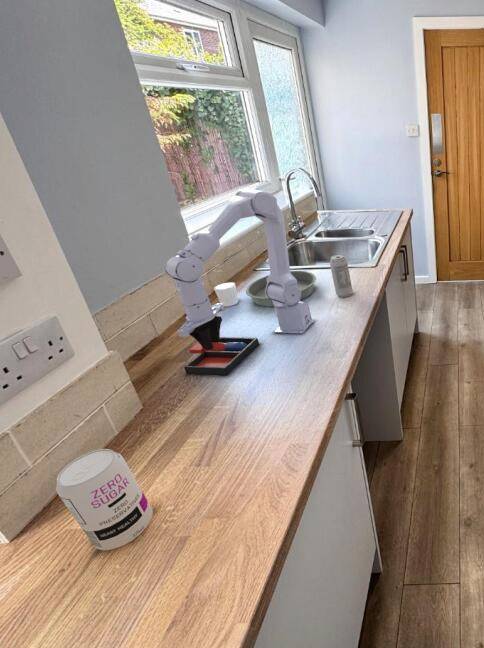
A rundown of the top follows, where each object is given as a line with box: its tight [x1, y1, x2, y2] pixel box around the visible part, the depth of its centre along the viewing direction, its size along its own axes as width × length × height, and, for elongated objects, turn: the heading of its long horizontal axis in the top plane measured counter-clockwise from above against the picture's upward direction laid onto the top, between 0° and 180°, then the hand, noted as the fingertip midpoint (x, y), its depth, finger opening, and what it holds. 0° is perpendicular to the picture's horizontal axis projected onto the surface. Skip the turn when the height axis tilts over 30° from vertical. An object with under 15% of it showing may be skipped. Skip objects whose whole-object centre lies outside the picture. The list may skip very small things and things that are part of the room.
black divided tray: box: [183, 336, 260, 377], centre depth 114 cm, size 12×15×2 cm
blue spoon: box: [223, 342, 247, 351], centre depth 117 cm, size 9×3×2 cm, turn 83°
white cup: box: [213, 281, 239, 308], centre depth 147 cm, size 7×7×7 cm
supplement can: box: [55, 448, 154, 551], centre depth 66 cm, size 8×8×15 cm
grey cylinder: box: [329, 253, 353, 298], centre depth 147 cm, size 6×6×15 cm
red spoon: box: [188, 342, 226, 355], centre depth 109 cm, size 9×3×2 cm, turn 83°
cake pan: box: [245, 270, 317, 307], centre depth 152 cm, size 25×25×4 cm
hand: (212, 346), depth 109 cm, fingers closed on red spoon, 2 cm apart
